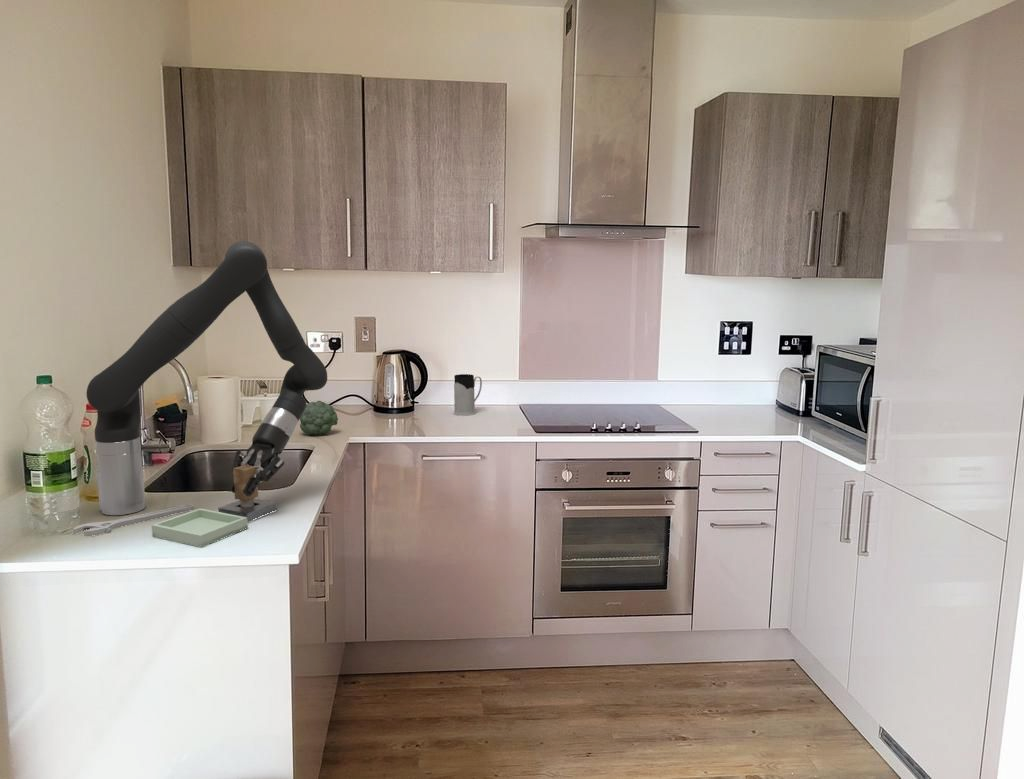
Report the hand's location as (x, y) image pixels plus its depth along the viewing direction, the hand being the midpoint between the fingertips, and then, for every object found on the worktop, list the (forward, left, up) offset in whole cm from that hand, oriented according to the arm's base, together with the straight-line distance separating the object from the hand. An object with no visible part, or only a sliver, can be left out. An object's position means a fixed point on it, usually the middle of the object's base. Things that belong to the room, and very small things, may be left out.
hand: (239, 492), depth 172 cm
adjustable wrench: (-18, -13, -6) cm, 23 cm away
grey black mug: (-16, +132, -6) cm, 134 cm away
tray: (0, -12, -6) cm, 13 cm away
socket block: (0, +2, -6) cm, 6 cm away
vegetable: (-44, +77, -6) cm, 89 cm away
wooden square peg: (0, +2, -5) cm, 5 cm away
